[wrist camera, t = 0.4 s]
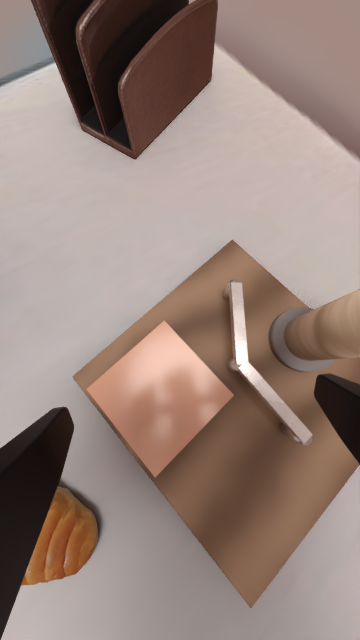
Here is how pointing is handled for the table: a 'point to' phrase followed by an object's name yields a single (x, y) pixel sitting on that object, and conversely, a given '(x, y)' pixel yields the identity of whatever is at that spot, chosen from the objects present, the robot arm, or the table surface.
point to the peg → (317, 334)
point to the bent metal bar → (240, 363)
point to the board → (242, 427)
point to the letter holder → (130, 62)
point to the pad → (159, 396)
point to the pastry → (63, 540)
